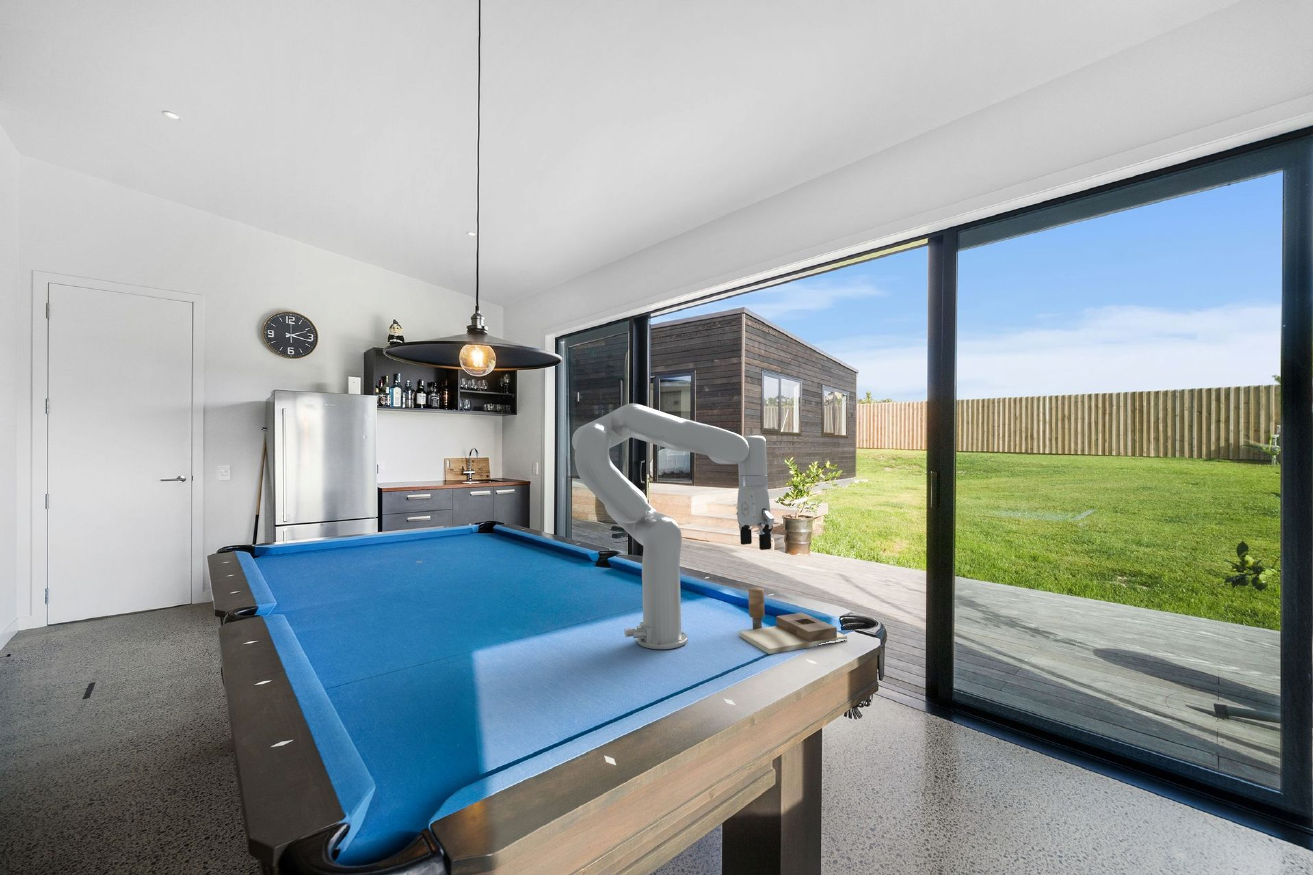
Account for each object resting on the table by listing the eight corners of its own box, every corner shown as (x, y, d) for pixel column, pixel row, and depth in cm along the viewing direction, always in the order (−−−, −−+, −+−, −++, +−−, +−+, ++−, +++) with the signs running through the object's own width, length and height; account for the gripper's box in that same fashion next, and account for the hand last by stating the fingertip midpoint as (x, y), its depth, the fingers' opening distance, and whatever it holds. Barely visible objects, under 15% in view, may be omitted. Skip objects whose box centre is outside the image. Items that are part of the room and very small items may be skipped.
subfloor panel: (769, 654, 127) (768, 637, 127) (739, 636, 140) (739, 621, 140) (847, 640, 135) (846, 625, 135) (812, 625, 148) (811, 611, 148)
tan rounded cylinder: (754, 632, 143) (753, 591, 143) (746, 628, 147) (745, 588, 147) (768, 630, 144) (766, 589, 145) (759, 626, 148) (758, 586, 148)
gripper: (725, 481, 154) (727, 543, 153) (757, 483, 137) (760, 553, 137) (749, 480, 156) (751, 541, 156) (783, 482, 140) (786, 550, 139)
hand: (755, 546), depth 146 cm, fingers open, 9 cm apart
